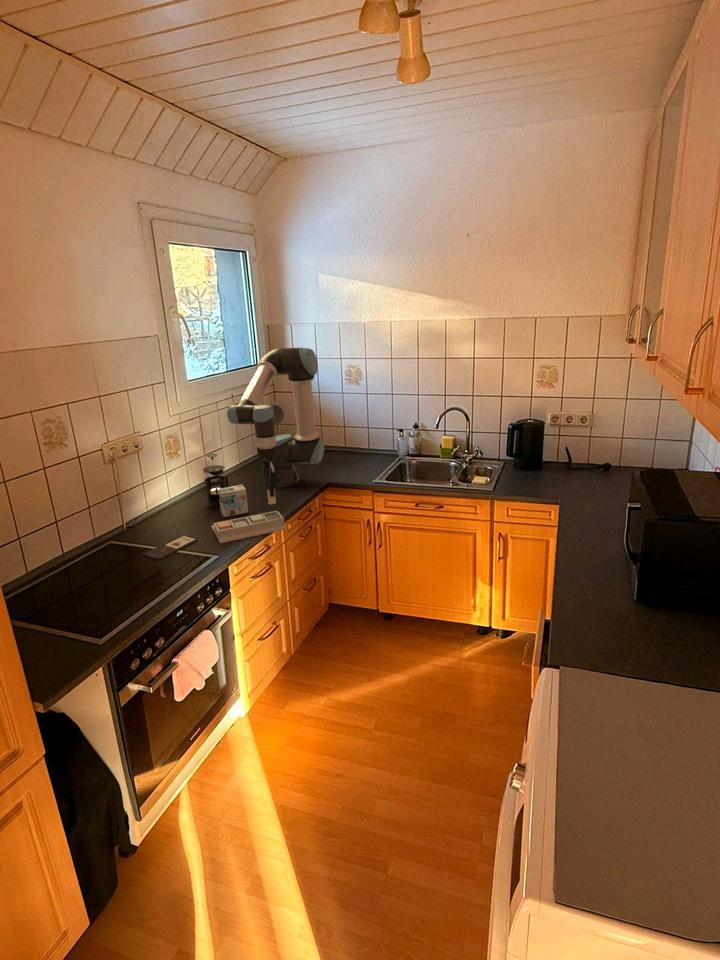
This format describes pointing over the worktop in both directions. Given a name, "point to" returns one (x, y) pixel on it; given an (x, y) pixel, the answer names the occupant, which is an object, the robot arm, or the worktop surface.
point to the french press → (214, 483)
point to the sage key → (256, 519)
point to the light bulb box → (233, 500)
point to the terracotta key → (224, 525)
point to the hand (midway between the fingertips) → (272, 503)
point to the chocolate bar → (170, 547)
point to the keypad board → (249, 527)
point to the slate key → (240, 523)
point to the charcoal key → (272, 517)
